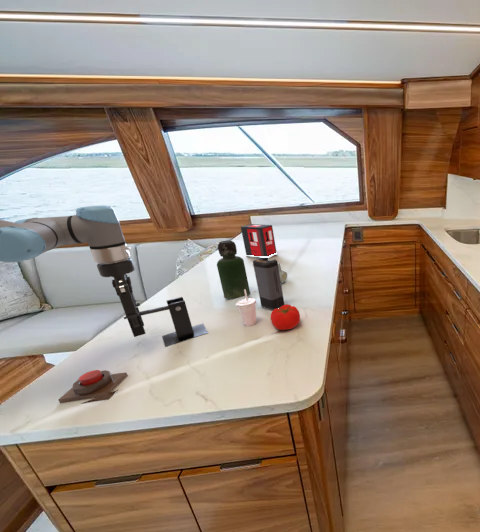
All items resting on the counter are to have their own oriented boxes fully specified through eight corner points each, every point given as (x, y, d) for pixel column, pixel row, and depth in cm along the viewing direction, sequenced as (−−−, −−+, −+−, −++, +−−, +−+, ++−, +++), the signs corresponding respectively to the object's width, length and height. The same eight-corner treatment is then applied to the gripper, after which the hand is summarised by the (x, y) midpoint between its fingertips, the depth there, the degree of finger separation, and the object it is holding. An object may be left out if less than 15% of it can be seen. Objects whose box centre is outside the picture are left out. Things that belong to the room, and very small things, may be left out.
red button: (76, 387, 74) (74, 381, 73) (89, 376, 78) (86, 371, 77) (95, 384, 75) (93, 378, 74) (106, 374, 79) (104, 368, 78)
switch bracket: (166, 350, 95) (153, 311, 90) (163, 338, 101) (151, 302, 97) (209, 335, 102) (199, 299, 98) (203, 326, 109) (194, 291, 104)
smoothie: (264, 323, 110) (257, 288, 105) (249, 331, 104) (241, 295, 100) (252, 319, 112) (245, 285, 108) (237, 327, 107) (229, 292, 102)
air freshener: (273, 278, 154) (270, 260, 151) (289, 278, 154) (286, 260, 150) (263, 286, 144) (260, 267, 140) (280, 286, 143) (277, 267, 140)
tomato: (276, 335, 101) (273, 318, 99) (269, 322, 110) (266, 306, 108) (304, 327, 106) (302, 310, 104) (296, 315, 115) (294, 300, 113)
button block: (61, 406, 73) (54, 393, 71) (86, 384, 80) (81, 372, 79) (108, 399, 75) (103, 386, 73) (129, 378, 82) (124, 366, 81)
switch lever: (130, 323, 89) (128, 315, 88) (130, 316, 93) (128, 309, 92) (184, 310, 97) (182, 304, 96) (181, 305, 101) (180, 298, 101)
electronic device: (286, 305, 123) (279, 259, 117) (274, 311, 119) (265, 264, 112) (271, 301, 128) (264, 256, 122) (259, 306, 123) (250, 260, 117)
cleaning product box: (276, 255, 196) (272, 225, 189) (267, 259, 188) (261, 227, 181) (256, 253, 201) (251, 224, 194) (246, 257, 193) (240, 226, 186)
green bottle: (222, 295, 135) (209, 242, 127) (246, 289, 142) (235, 237, 134) (227, 302, 128) (214, 246, 120) (253, 295, 134) (242, 241, 126)
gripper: (132, 264, 81) (157, 338, 88) (130, 251, 94) (152, 316, 102) (93, 271, 76) (123, 348, 84) (97, 256, 90) (123, 324, 97)
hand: (139, 330), depth 93 cm, fingers closed on switch lever, 6 cm apart
